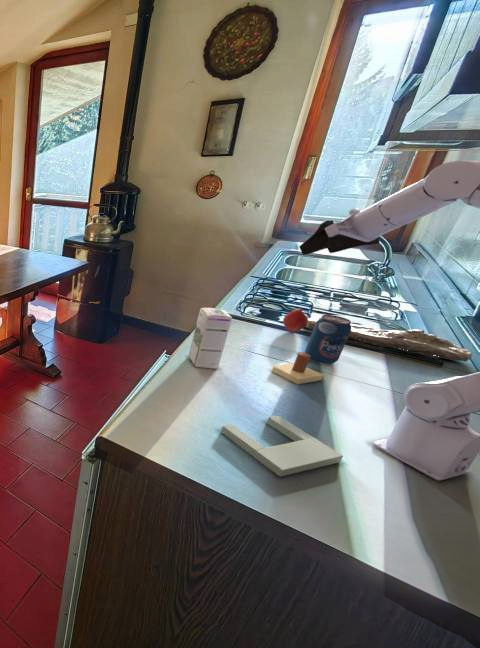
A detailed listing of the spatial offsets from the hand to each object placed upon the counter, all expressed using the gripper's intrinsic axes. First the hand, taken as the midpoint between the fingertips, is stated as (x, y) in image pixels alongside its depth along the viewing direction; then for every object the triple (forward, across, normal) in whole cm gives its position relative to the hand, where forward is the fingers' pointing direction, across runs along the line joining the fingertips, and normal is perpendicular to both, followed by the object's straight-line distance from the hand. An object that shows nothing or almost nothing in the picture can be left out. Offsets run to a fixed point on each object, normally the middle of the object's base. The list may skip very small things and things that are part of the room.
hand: (315, 249), depth 83 cm
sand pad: (+21, -8, +24) cm, 33 cm away
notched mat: (+6, +22, +37) cm, 44 cm away
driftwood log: (+28, -52, +19) cm, 62 cm away
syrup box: (+29, +10, +17) cm, 35 cm away
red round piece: (+36, -34, +11) cm, 51 cm away
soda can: (+24, -23, +21) cm, 40 cm away
